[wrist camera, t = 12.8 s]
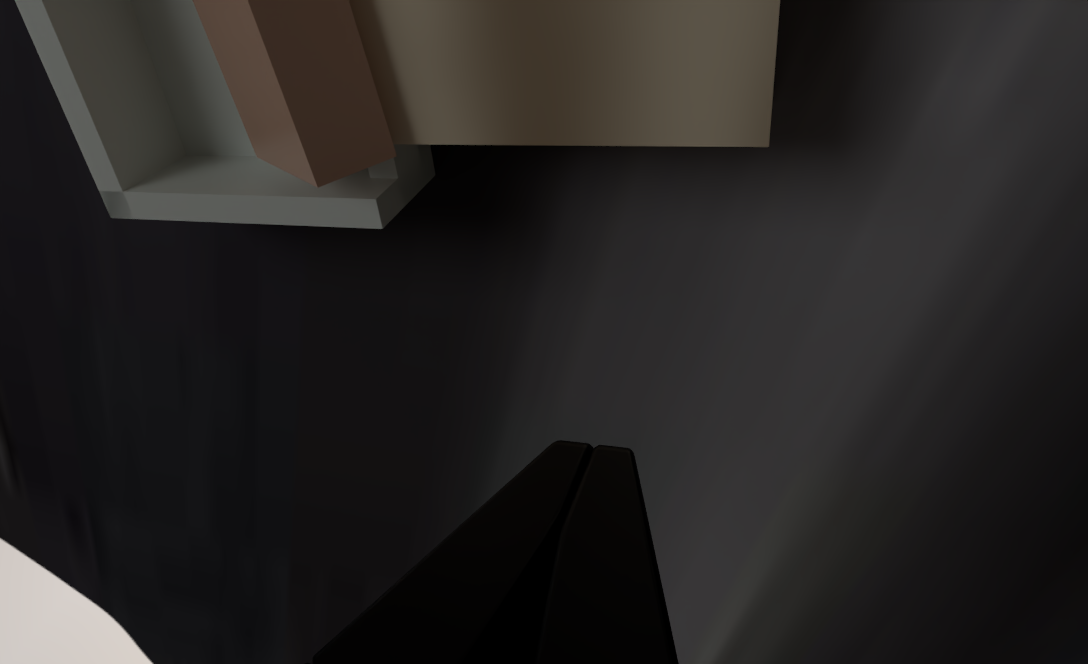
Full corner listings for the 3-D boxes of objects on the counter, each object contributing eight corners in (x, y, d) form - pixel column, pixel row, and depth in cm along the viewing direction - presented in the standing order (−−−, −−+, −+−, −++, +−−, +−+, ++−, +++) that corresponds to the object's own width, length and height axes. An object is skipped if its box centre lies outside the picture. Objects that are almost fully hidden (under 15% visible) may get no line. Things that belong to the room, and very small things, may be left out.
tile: (331, -58, 15) (235, -34, 14) (396, 156, 17) (318, 187, 17) (262, -47, 18) (181, -27, 18) (325, 131, 21) (256, 157, 20)
